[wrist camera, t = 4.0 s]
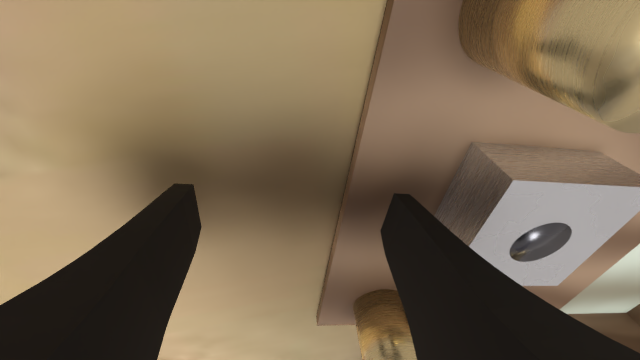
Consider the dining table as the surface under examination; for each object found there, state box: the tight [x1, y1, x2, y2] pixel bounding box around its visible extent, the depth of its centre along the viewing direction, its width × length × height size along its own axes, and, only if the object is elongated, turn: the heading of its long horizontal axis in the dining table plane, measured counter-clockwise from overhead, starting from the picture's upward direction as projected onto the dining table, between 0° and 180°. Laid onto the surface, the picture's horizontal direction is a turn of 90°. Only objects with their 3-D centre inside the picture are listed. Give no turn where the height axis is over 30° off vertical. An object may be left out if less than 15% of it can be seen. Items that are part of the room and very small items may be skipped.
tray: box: [317, 0, 640, 353], centre depth 13 cm, size 20×24×4 cm
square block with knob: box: [435, 142, 640, 286], centre depth 11 cm, size 6×6×2 cm
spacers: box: [353, 0, 640, 360], centre depth 11 cm, size 19×10×4 cm, turn 173°
